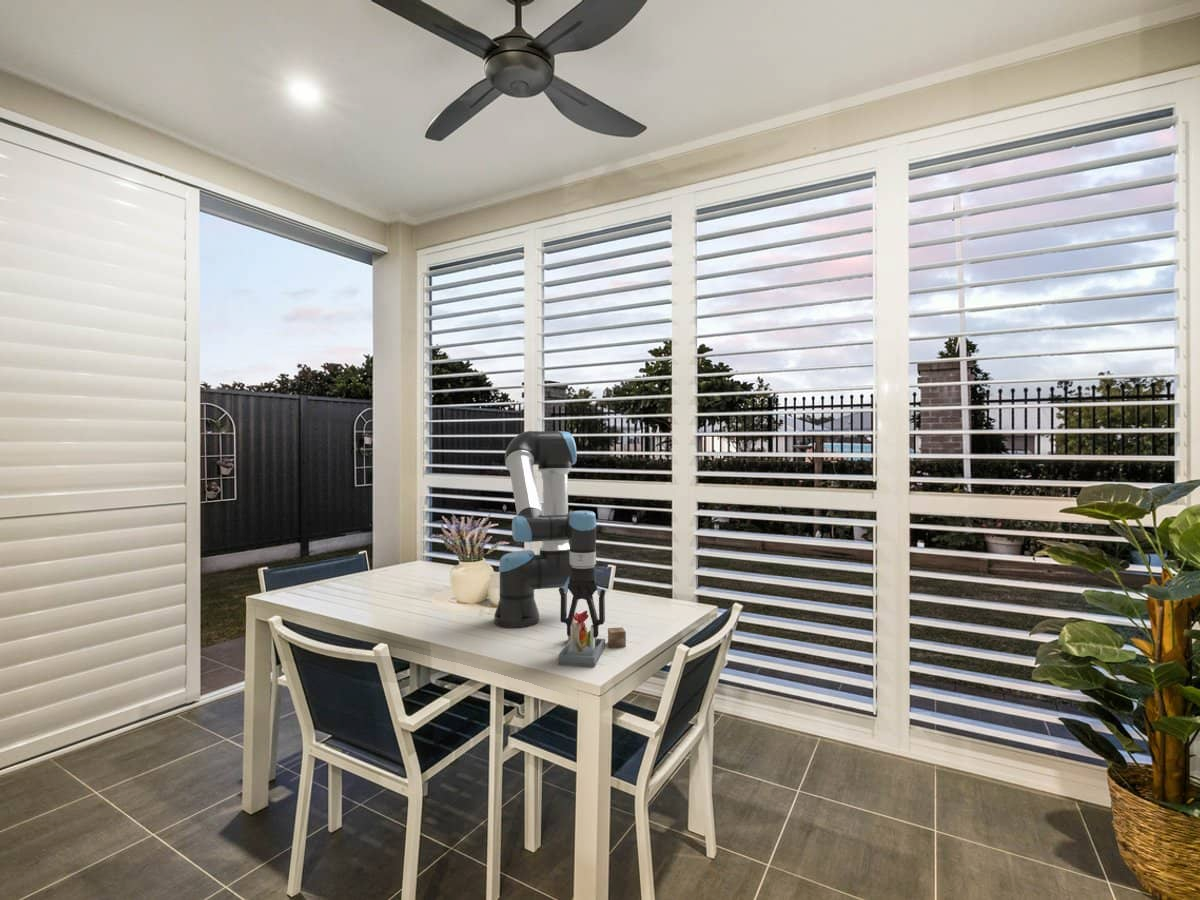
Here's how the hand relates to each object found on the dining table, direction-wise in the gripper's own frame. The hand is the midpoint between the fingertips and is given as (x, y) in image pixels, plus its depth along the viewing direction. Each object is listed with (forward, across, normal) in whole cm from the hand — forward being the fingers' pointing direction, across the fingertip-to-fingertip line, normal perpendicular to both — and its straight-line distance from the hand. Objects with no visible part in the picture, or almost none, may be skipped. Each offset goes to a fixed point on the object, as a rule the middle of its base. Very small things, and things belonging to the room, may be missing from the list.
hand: (582, 647), depth 168 cm
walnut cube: (+2, +8, +11) cm, 14 cm away
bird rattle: (+1, 0, 0) cm, 1 cm away
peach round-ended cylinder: (+2, -5, +12) cm, 13 cm away
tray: (+2, 0, 0) cm, 2 cm away
